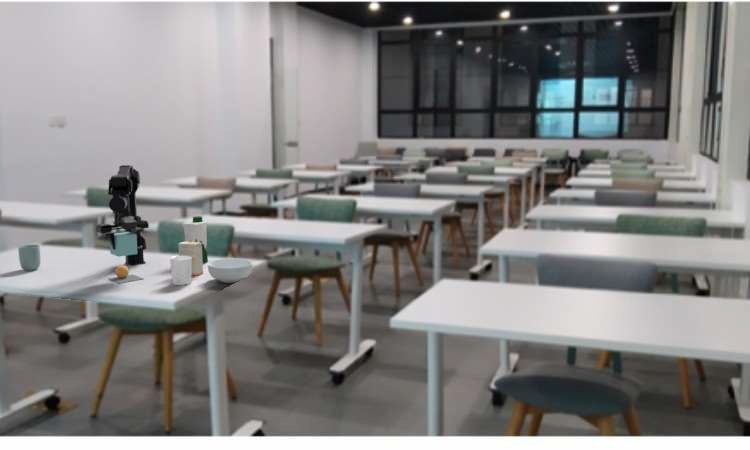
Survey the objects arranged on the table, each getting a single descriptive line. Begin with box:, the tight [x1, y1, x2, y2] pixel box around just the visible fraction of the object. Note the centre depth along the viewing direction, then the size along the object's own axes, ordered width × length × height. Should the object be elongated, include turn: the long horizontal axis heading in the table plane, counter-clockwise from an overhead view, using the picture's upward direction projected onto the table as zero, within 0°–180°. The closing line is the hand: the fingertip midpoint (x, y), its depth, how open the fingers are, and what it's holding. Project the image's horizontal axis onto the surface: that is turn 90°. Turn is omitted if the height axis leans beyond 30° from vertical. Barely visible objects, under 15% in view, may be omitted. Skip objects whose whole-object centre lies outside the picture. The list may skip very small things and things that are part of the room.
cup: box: [17, 244, 42, 272], centre depth 273 cm, size 8×8×10 cm
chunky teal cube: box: [109, 231, 138, 258], centre depth 256 cm, size 8×8×8 cm
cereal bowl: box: [207, 258, 253, 284], centre depth 256 cm, size 17×17×7 cm
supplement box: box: [178, 240, 204, 277], centre depth 266 cm, size 8×5×13 cm, turn 71°
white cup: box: [169, 255, 192, 286], centre depth 251 cm, size 8×8×10 cm
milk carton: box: [181, 215, 209, 264], centre depth 286 cm, size 9×9×20 cm
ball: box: [115, 265, 130, 278], centre depth 260 cm, size 5×5×5 cm
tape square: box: [107, 273, 144, 284], centre depth 258 cm, size 10×10×1 cm
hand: (124, 248), depth 256 cm, fingers closed on chunky teal cube, 8 cm apart
